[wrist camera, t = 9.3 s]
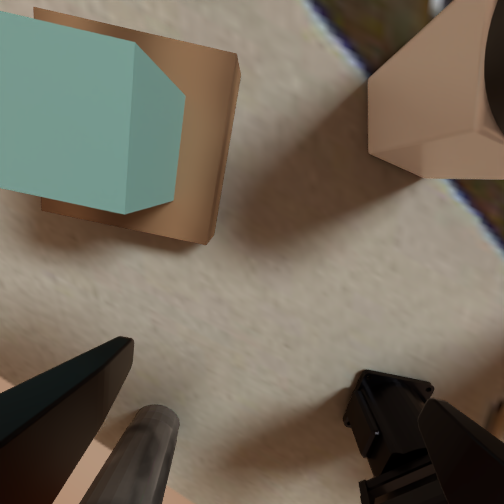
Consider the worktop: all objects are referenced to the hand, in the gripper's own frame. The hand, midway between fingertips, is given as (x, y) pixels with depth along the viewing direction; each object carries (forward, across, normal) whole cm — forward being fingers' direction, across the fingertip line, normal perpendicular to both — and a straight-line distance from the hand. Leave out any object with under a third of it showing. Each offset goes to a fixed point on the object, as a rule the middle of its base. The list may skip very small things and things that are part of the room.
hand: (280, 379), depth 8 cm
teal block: (+10, +10, -6) cm, 15 cm away
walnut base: (+13, +10, -6) cm, 17 cm away
